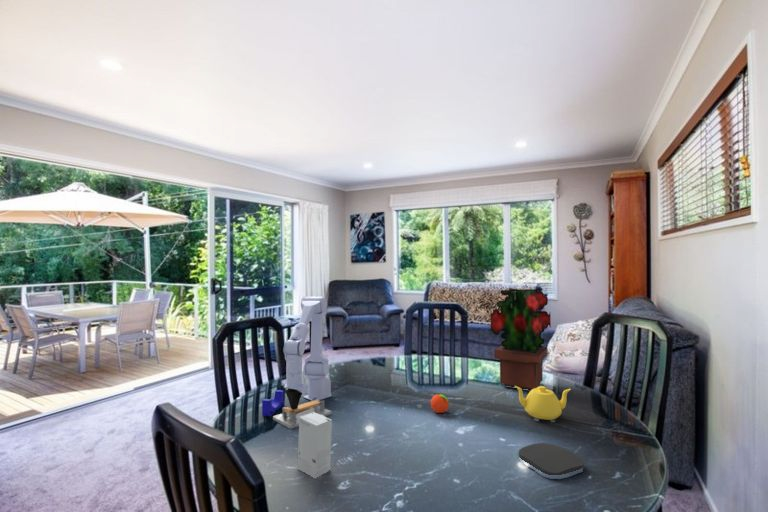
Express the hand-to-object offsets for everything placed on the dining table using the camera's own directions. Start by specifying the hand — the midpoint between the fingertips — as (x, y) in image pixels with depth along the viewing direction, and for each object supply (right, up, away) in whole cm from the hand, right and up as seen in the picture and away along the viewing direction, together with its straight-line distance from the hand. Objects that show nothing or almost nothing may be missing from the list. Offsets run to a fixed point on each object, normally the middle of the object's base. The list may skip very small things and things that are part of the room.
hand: (294, 408), depth 144 cm
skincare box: (+14, -4, -35) cm, 37 cm away
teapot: (+93, -4, +2) cm, 93 cm away
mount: (+2, -4, +3) cm, 6 cm away
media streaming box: (+82, -4, -32) cm, 88 cm away
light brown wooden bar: (+3, -1, +3) cm, 5 cm away
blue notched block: (-11, -5, +10) cm, 16 cm away
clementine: (+55, -4, +6) cm, 56 cm away
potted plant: (+98, -4, +37) cm, 105 cm away
